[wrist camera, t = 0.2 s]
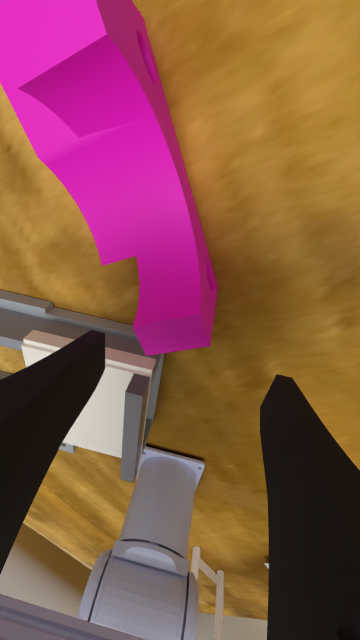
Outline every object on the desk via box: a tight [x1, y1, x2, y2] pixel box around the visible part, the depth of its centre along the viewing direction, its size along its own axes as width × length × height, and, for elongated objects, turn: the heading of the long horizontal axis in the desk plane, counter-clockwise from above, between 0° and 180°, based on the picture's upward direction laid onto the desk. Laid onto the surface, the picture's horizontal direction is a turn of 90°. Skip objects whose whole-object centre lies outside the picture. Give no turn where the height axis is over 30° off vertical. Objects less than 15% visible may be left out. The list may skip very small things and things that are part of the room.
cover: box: [21, 330, 156, 482], centre depth 22 cm, size 12×10×3 cm
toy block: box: [0, 0, 218, 356], centre depth 15 cm, size 15×6×8 cm, turn 19°
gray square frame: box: [0, 290, 164, 454], centre depth 28 cm, size 22×22×4 cm
